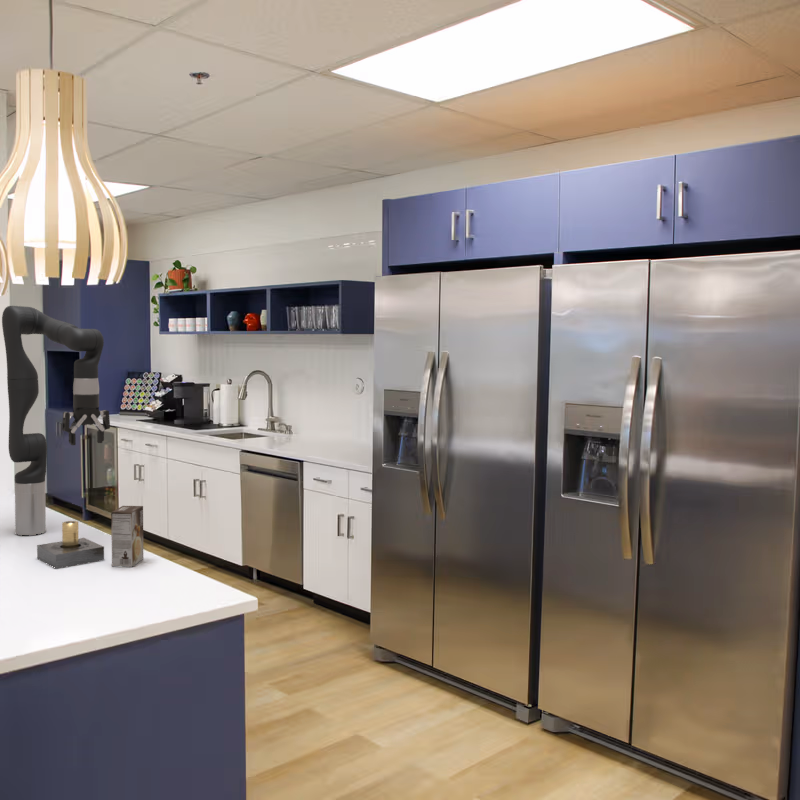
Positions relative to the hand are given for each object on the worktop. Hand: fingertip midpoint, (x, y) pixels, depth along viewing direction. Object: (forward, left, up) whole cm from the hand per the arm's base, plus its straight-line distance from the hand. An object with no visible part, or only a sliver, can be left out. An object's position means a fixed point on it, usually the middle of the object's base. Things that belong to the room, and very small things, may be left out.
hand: (86, 444), depth 251 cm
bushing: (+14, -11, -31) cm, 36 cm away
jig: (+14, -11, -32) cm, 37 cm away
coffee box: (+28, 0, -32) cm, 43 cm away
